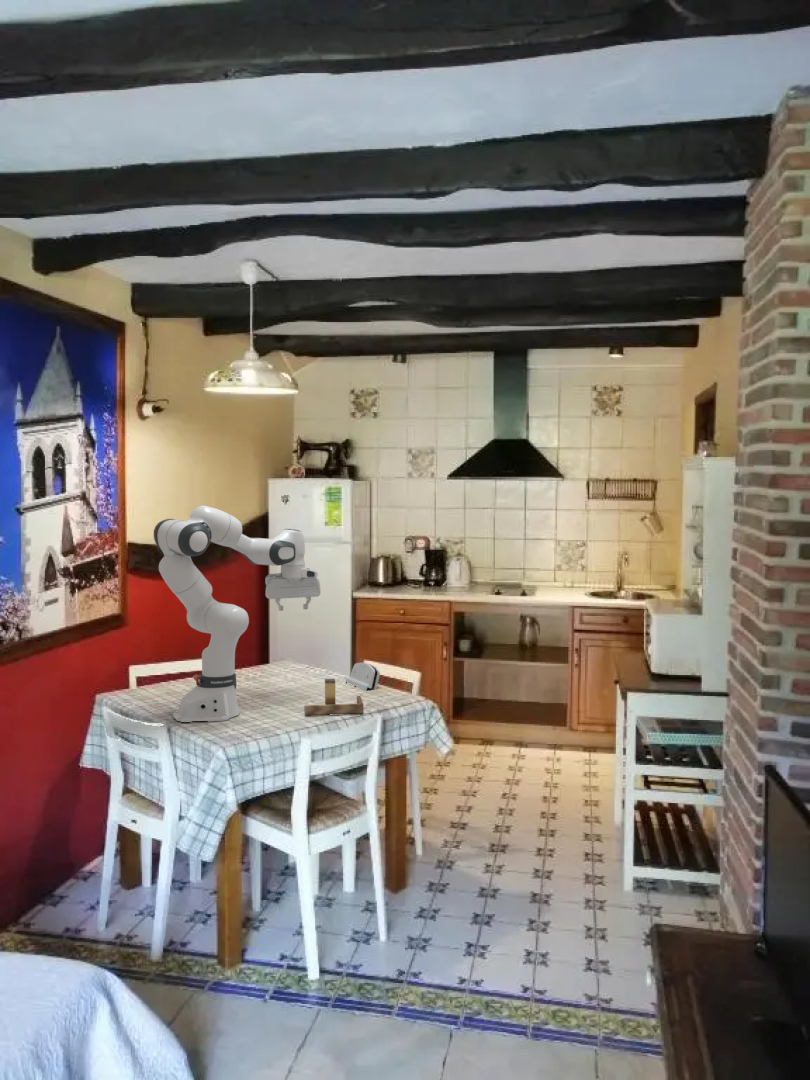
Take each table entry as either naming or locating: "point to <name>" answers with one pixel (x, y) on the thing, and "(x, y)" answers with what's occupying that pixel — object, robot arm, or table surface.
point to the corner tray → (335, 708)
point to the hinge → (364, 676)
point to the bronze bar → (329, 691)
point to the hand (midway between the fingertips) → (293, 609)
